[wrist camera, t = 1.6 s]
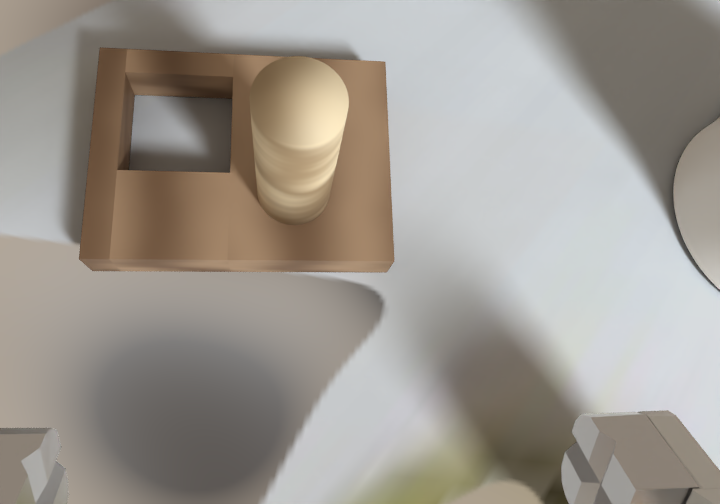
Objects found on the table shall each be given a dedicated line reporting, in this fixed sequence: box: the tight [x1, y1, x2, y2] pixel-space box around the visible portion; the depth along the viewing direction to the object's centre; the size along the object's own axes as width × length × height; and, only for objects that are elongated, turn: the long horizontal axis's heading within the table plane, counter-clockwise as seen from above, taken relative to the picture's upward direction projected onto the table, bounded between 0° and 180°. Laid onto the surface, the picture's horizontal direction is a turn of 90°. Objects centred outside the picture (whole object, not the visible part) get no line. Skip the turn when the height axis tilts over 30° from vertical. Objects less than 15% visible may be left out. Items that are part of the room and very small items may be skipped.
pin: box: [249, 56, 349, 225], centre depth 30 cm, size 4×4×10 cm
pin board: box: [79, 48, 394, 272], centre depth 36 cm, size 16×12×2 cm
